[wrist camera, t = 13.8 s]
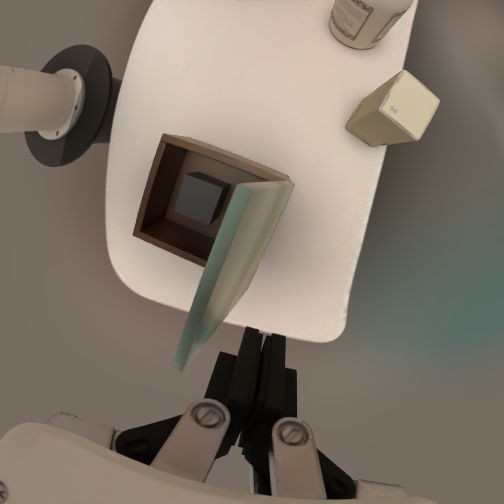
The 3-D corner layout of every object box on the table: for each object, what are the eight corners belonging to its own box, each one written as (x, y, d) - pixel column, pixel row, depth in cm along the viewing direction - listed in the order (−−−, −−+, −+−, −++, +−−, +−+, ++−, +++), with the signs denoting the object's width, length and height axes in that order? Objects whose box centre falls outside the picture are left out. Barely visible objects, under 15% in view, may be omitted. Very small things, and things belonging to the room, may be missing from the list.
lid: (170, 366, 16) (181, 373, 16) (236, 183, 12) (253, 190, 12) (241, 285, 29) (248, 288, 29) (287, 180, 25) (295, 183, 25)
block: (185, 204, 35) (172, 211, 30) (197, 171, 33) (185, 173, 29) (218, 217, 35) (208, 226, 31) (231, 184, 33) (223, 188, 29)
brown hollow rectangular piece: (160, 219, 37) (132, 235, 29) (187, 137, 33) (162, 133, 25) (253, 259, 37) (245, 284, 30) (289, 176, 33) (290, 181, 26)
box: (372, 148, 30) (417, 145, 18) (343, 127, 30) (376, 111, 18) (392, 116, 29) (443, 100, 17) (364, 95, 28) (403, 66, 16)
